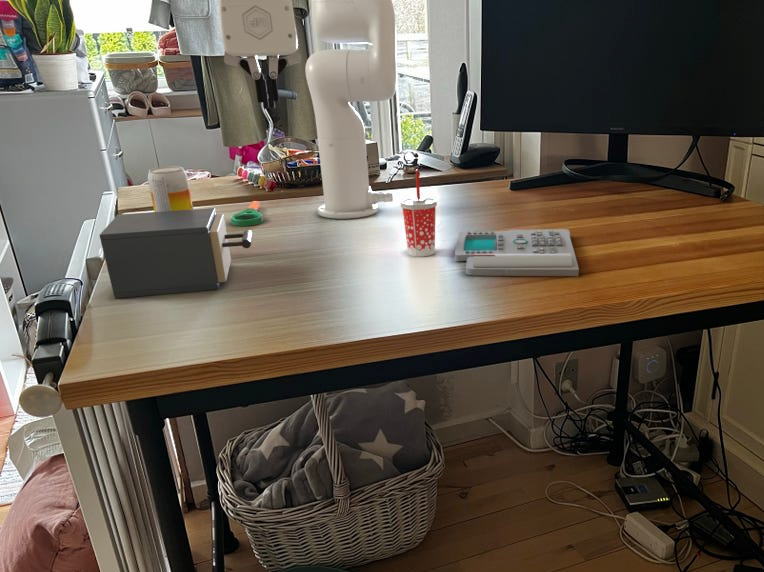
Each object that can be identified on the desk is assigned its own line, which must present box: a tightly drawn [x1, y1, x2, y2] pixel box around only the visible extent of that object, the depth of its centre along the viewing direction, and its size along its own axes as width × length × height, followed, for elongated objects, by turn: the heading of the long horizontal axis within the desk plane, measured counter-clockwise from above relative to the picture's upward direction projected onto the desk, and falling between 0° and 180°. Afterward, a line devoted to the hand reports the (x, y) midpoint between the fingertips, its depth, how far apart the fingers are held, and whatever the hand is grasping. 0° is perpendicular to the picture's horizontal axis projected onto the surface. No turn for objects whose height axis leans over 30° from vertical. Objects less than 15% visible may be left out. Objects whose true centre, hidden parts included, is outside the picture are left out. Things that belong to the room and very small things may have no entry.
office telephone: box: [454, 228, 580, 277], centre depth 123 cm, size 23×3×20 cm
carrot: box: [230, 200, 263, 227], centre depth 151 cm, size 15×6×2 cm, turn 7°
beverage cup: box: [399, 169, 438, 258], centre depth 123 cm, size 6×6×14 cm
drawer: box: [209, 213, 253, 283], centre depth 113 cm, size 18×11×8 cm, turn 104°
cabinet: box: [99, 207, 221, 299], centre depth 112 cm, size 15×13×10 cm
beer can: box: [147, 165, 194, 212], centre depth 122 cm, size 6×6×15 cm
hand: (269, 107), depth 107 cm, fingers closed
